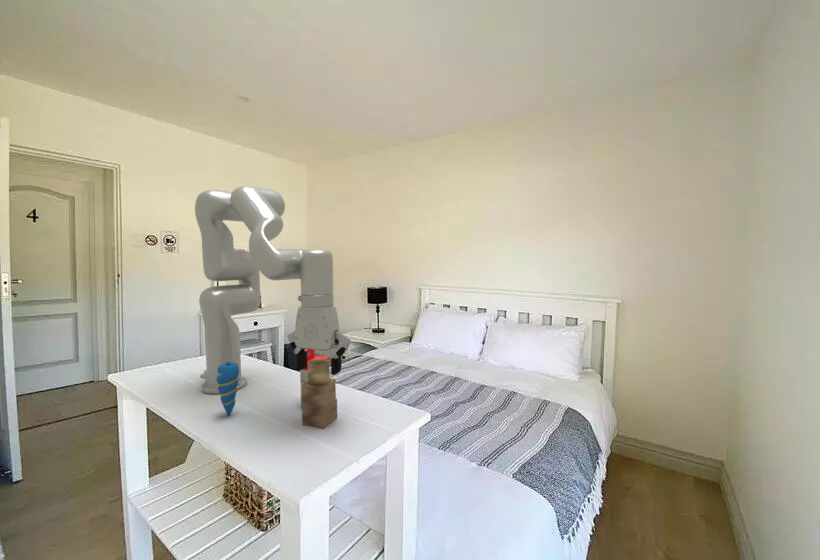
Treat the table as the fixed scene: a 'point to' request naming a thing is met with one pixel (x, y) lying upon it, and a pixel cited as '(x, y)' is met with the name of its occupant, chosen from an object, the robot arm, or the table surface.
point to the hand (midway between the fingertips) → (318, 370)
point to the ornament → (228, 384)
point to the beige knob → (318, 372)
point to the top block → (318, 394)
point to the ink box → (305, 371)
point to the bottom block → (319, 415)
